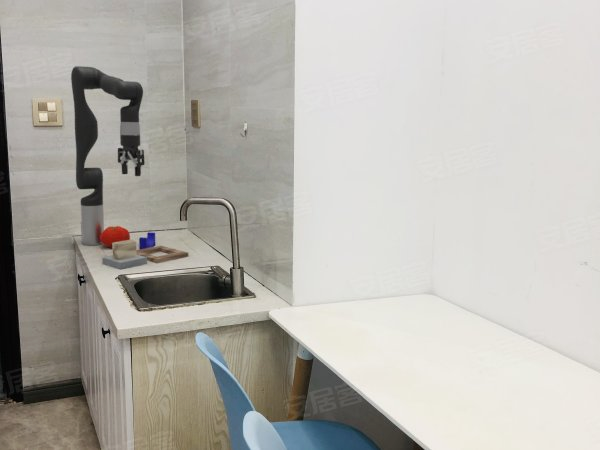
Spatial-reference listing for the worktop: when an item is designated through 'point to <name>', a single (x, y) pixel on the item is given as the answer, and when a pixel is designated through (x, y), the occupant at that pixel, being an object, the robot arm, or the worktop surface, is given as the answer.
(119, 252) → the ash block
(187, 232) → the worktop surface
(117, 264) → the plinth
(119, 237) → the tomato
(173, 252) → the board
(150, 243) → the cable clip
